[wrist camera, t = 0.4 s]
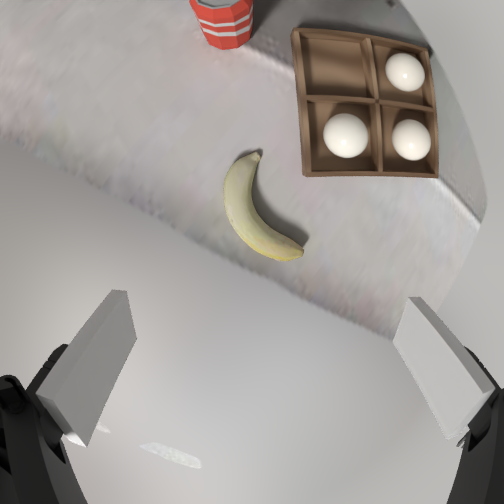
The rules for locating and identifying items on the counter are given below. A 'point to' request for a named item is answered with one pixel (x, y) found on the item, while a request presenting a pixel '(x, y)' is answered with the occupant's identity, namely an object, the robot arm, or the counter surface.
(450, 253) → the counter surface
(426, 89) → the crate
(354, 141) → the egg
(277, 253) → the fruit
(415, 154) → the egg
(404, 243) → the counter surface
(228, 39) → the beverage can
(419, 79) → the egg
